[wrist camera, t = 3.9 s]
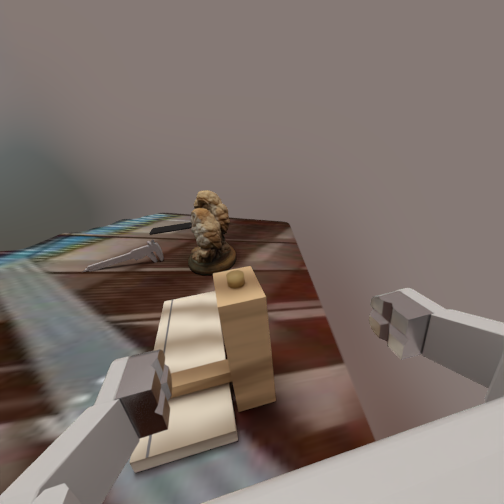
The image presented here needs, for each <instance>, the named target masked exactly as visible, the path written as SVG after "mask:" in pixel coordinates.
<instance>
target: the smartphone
mask: <svg viewBox="0 0 504 504" xmlns="http://www.w3.org/2000/svg"><path fill="white" fill-rule="evenodd" d="M191 225H192V223H184V224H177V225H171V226H164V227H158V228H153V229H152V230H151V232H150V233H149V234H150V235H152V234H158V233H164V232H171V231H177V230H183V229H189V228H191Z"/></svg>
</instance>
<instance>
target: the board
mask: <svg viewBox="0 0 504 504" xmlns="http://www.w3.org/2000/svg"><path fill="white" fill-rule="evenodd" d="M159 349H161V350H163V353H164V355H165V365H167V366H168V367H169V369H170V372H171V373H174V372H178V371H182V370H186V369H190V368H194V367H198V366H202V365H205V364H209V363H213V362H217V361H221V360H225V359H226V356H225V349H224V342H223V336H222V329H221V322H220V317H219V312H218V306H217V299H216V293H215V291H213V292H208V293H203V294H199V295H194V296H189V297H184V298H179V299H174V300H170V301H165V302H164V305H163V310H162V315H161V319H160V324H159V329H158V333H157V338H156V343H155V347H154V351H155V350H159ZM168 404H169V406H170V416H169V425H168V430H165V431H162V432H159V433H155V434H152V435H149V436H146V437H143V438H140V441H139V443H138V445H137V446H136V448H135V449H134V451H133V453H132V454H131V459H130V465H131V467H132V468H133V470H134V472H135V473H136V472H139V471H143V470H146V469H149V468H152V467H155V466H159V465H162V464H165V463H168V462H171V461H175V460H178V459H181V458H184V457H187V456H190V455H194V454H197V453H200V452H203V451H206V450H210V449H213V448H216V447H219V446H222V445H226V444H229V443H232V442H235V441H238V436H237V429H236V423H235V416H234V409H233V403H232V396H231V389H230V383H229V382H228V383H225V384H221V385H217V386H214V387H210V388H206V389H203V390H199V391H195V392H192V393H188V394H184V395H181V396H177V397H173V398H170V399H169V400H168Z"/></svg>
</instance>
